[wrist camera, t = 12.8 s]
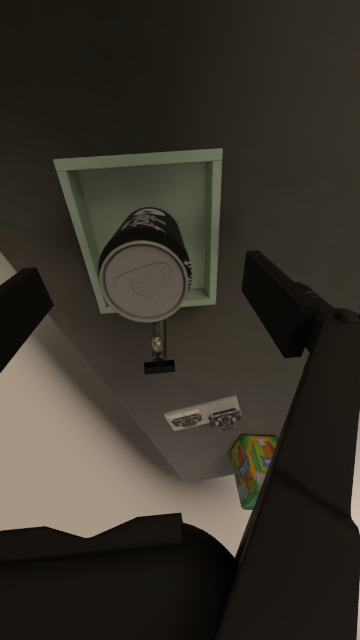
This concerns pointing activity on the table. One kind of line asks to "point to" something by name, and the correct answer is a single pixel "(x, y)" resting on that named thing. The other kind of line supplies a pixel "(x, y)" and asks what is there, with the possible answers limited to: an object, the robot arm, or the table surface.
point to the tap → (159, 351)
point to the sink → (148, 191)
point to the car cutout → (207, 415)
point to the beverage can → (145, 267)
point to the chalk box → (251, 465)
